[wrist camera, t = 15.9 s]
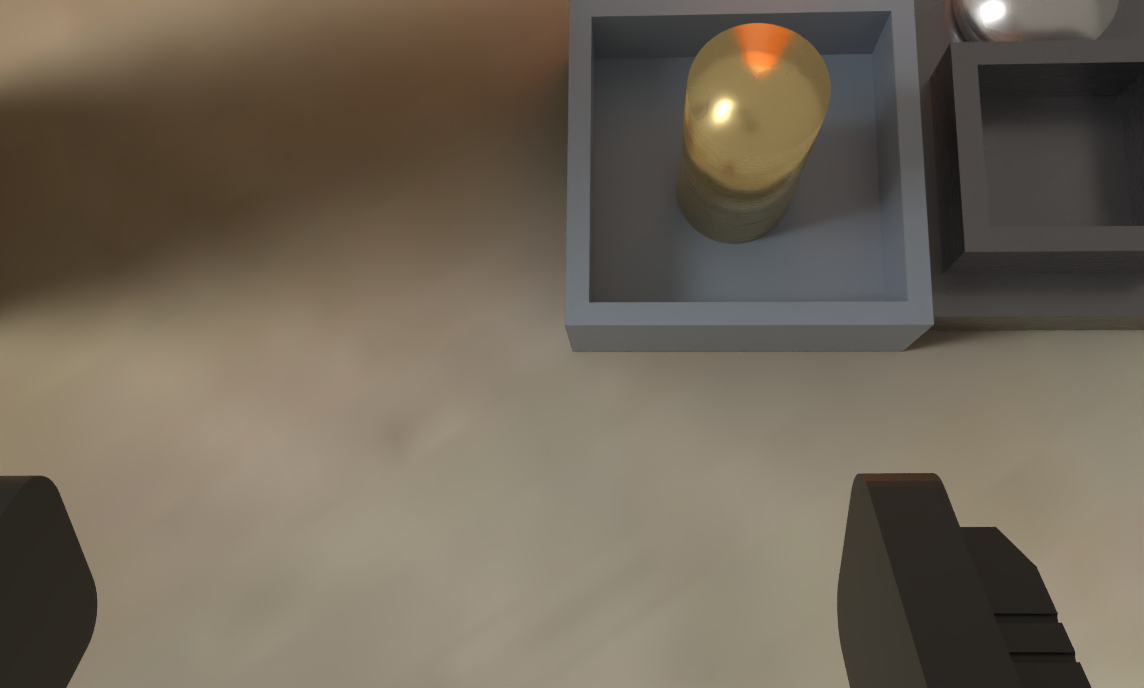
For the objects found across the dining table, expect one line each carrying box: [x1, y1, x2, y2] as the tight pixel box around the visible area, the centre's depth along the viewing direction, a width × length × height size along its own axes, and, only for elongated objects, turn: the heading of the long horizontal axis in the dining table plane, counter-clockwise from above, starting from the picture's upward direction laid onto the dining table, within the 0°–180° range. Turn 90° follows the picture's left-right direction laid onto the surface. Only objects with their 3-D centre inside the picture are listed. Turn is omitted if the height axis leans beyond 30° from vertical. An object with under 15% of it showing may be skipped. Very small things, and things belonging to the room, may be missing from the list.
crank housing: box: [914, 0, 1144, 330], centre depth 36 cm, size 8×14×6 cm, turn 179°
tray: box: [565, 0, 934, 352], centre depth 37 cm, size 12×12×4 cm
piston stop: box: [677, 23, 831, 244], centre depth 34 cm, size 4×4×8 cm
